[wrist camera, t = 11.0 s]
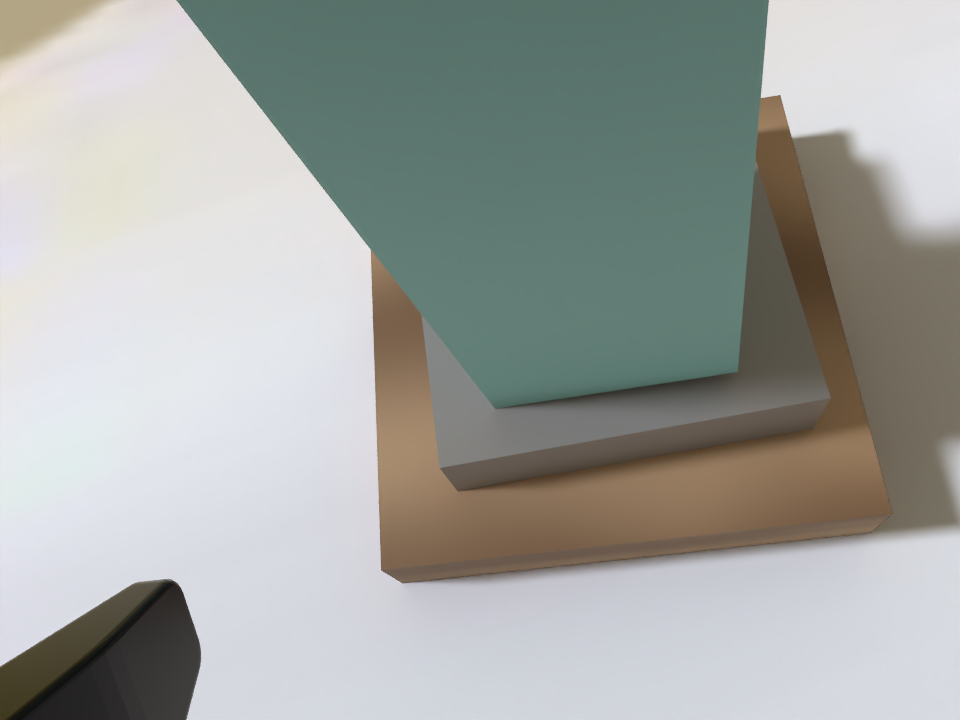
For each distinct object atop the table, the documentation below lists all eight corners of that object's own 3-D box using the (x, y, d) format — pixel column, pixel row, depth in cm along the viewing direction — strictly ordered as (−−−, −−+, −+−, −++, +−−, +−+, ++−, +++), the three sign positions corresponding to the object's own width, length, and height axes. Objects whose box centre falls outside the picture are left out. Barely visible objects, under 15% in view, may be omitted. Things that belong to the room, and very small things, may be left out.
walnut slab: (863, 537, 21) (892, 513, 18) (407, 586, 22) (381, 570, 20) (767, 152, 25) (779, 94, 23) (391, 213, 26) (368, 164, 24)
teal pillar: (737, 371, 18) (792, -275, 6) (495, 408, 19) (114, -80, 7) (695, 161, 19) (672, -660, 8) (476, 204, 20) (153, -462, 9)
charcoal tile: (812, 429, 19) (830, 398, 17) (457, 491, 20) (439, 467, 18) (724, 136, 23) (731, 84, 21) (421, 200, 23) (402, 155, 21)
